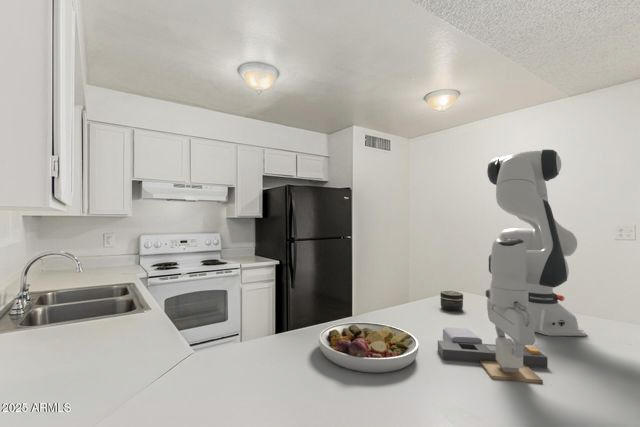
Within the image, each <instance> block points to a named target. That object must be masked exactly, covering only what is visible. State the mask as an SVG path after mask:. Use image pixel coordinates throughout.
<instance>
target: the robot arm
mask: <svg viewBox="0 0 640 427" xmlns="http://www.w3.org/2000/svg"><path fill="white" fill-rule="evenodd" d="M561 169H562V159H561V157H560V155H559V154H558V152H557V151H556V150H554V149H542V150H529V151H524V152H520V153H519V152H518V153H513V154H509V155H505V156H497V157H495V158H493V159H491V160H490V161H489V163H488V164H487V170H486V175H487V178H488V180H489V182H490V183H491V184H493V185H495V186H496V187H495V196H496V197H495V198H496V203H497V205H498V206H499V208H500V209H502V210H503V211H504V212H506V213H508V214H510V215H512V216H514V217H517V218H518V219H519V220H521V221H522V222H524V223H527V224H529V225H530V227H511V228H506V229H503V230H502V231H501V232H500V234H499V236H498V238H497V239H495V240H493V242H492V246H491V253H490V254H489V256H488V272H489V273H490V274H491V281H490V288H488V289H487V288H486V289H485V297H486V299H487V300H486V308H487V309H486V310H487V317H488V319H489V322H491V323H492V324H494V326H495V332H496V336H497V337H496V338H505V339H507V336H508V337H509V338H510V339H513V340H514V344H515V345H514V348H512V354H513V355H514V356H515V357H516V358H522V351H523V349H524V347H525V346H534V344H535V342H536V333H537V334H538V333H539V334H542V335H544V336H550V337H551V336H554V337H555V336H557V337H558V336H559V337H560V336H562V337H563V336H564V337H566V336H567V337H570V336H571V337H572V336H573V337H574V336H575V337H578V336H581V337H585V336H587V332H586V330H584V329H583V328H581V327H579V323H578V320H577V318H576V317H577V316H576V315H575V314H574V313H572V312H571V311H569V310H568V309H567V308H566V307H565V306H563V305H562V304H560V303H559V301H560V302H563V301H565V297H564V295H561V294H557V293H555V292H554V291H553V290H554V288H556V287H559V286H561V285H562V284H564V283H566V282H567V281H568V278H569V273H570V272H569V270H570V269H569V265H568V262H567V259H566V257H570V256H572V255H573V254H574V253H575V252H576V250H577V248H578V240H577V239H578V238H577V237H576V236H575V234H574V233H573V232H572V231H571V230H569V229H567V228H565V227H563V226H562V225H561V224H560V223H558V222H557V220H556V219H555V218H554V215H553V211H552V207H551V205H550V203H549V197H548V189H547V184H546V182H549V181H550V180H553V179H555V178H556V177H558V176H559V174H560V171H561ZM506 335H507V336H506Z"/></svg>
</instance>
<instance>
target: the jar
mask: <svg viewBox="0 0 640 427" xmlns="http://www.w3.org/2000/svg"><path fill="white" fill-rule="evenodd" d="M439 296H440V307H441V309H442V310H444V311H447V312H462V311H463V309H464V294H463V293H462V292H459V291H454V290H443V291H440V295H439Z"/></svg>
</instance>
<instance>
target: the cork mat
mask: <svg viewBox="0 0 640 427" xmlns="http://www.w3.org/2000/svg"><path fill="white" fill-rule="evenodd" d="M479 364H480V366H481V367H482V369H483V370H484V371H485V372H486V374H487V375H488V376H489V377H490V378H491V380H501V381H511V382H525V383H536V384H543V381H544V379H542V378H541V377H540V376H539V375H538V374H537V373H536V372H534V371H533V370H532V369H531V367H528V366H527V365H525V364H523V369H522V368H519V373H513V372H504V371H503V370H502V369H501V367H500V366H499V363H498V362H492V361H480V363H479Z"/></svg>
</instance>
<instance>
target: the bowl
mask: <svg viewBox="0 0 640 427" xmlns="http://www.w3.org/2000/svg"><path fill="white" fill-rule="evenodd" d="M318 345H319V348H320V351H321V352H322V353H323V355H324V356H325V357H326V358H327V359H328V360H329V361H331V362H332V363H334V364H336V365H338V366H340V367H342V368H345V369H348V370H352V371H356V372H362V373H389V372H394V371H398V370H401V369H404V368H406V367H407V366H409V365H410V364H412V362H414V361H415V359H416V357H418V353H419V346H420V345H419V341H418V339H417V338H416V337H415V336H414V335H413V334H411V333H410V332H408V331H406V330H405V329H404V330H403V329H401V328H398V327H396V326H392V325H388V324H382V323H378V322H377V323H376V322H369V321H368V322H365V321H364V322H363V321H354V322H343V323H342V322H341V323H337V324H334V325H331V326H329V327H325V328H324V329H323V330H322V331H321V332H320V333H319V334H318Z"/></svg>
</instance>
